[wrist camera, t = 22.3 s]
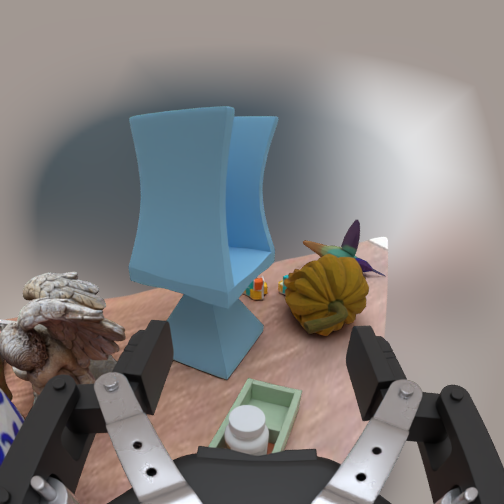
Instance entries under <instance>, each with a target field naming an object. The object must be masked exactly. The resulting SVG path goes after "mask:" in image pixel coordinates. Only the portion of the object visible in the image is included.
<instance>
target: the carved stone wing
mask: <svg viewBox="0 0 504 504" xmlns="http://www.w3.org/2000/svg"><path fill="white" fill-rule="evenodd" d="M11 322H12V321H9V320H1V319H0V331H2V330H3V329H4V328H5V327H6V326H7V325H8V324H9V323H11ZM38 325H40V324H38Z"/></svg>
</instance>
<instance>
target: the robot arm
mask: <svg viewBox="0 0 504 504" xmlns="http://www.w3.org/2000/svg"><path fill="white" fill-rule="evenodd" d="M173 356H174V349H173V343H172V337H171V330H170V324H169V322H168V321H159V320H151V321H150V323H149V325H148V327H147V328H146V330H139V331H138V332H137V333H135V334H134V335H133V336H132V337H131V339H130V340H129V342H128V345H127V346H126V347H125V349H124V351H123V353H122V354H121V356H120V358H119V360H118V361H117V363H116V365H115V367H114V369H113V370H112V372H110V373H106V374H103V375H101V376H100V377H99V378H98V379H97V380H96V381H95V383H94V384H76V382H75V380H74V379H73V378H72V377H71V376H69V375H64V374H63V375H57V376H54V377H52V378H51V379H50V380H49V381H48V382H47V383H46V385H45V387H44V388H43V390H42V391H41V393H40V395H39V396H38V398H37V400H36V401H35V403H34V405H33V407H32V408H31V410H30V412H29V414H28V415H27V417H26V419H25V421H24V422H23V424H22V426H21V428H20V430H19V431H18V433H17V435H16V437H15V439H14V441H13V443H12V445H11V446H10V448H9V450H8V452H7V454H6V456H5V458H4V460H3V462H2V464H1V466H0V504H80V502H79V500H78V499H77V497H76V496H75V495H74V493H75V490H76V487H77V484H78V481H79V478H80V475H81V473H82V470H83V467H84V464H85V461H86V458H87V456H88V453H89V450H90V448H91V445H92V442H93V440H94V437H95V434H96V433H108V434H109V436H110V439H111V441H112V444H113V446H114V448H115V451H116V453H117V456H118V458H119V460H120V462H121V465H122V467H123V469H124V471H125V473H126V476H127V478H128V480H129V482H130V484H131V486H132V488H131V489H130V490H128V491H126V492H125V493H123V494H122V495H120V496H119V497H117V498H115V499H114V500H112V501H111V502H109V503H107V504H391V503H390V502H389V501H387V500H386V499H384V498H383V497H382V496H381V495H379V493H380V491H381V489H382V487H383V486H384V484H385V482H386V480H387V478H388V476H389V474H390V473H391V471H392V469H393V467H394V465H395V463H396V461H397V459H398V457H399V455H400V452H401V450H402V448H403V446H404V444H405V442H406V441H416V442H417V444H418V447H419V450H420V453H421V457H422V460H423V464H424V467H425V471H426V475H427V479H428V482H429V487H430V491H431V494H432V499H433V503H434V504H504V468H503V465H502V463H501V461H500V458H499V456H498V453H497V451H496V449H495V446H494V444H493V442H492V440H491V438H490V435H489V433H488V431H487V429H486V427H485V425H484V423H483V420H482V418H481V417H480V415H479V413H478V410H477V408H476V406H475V405H474V403H473V401H472V399H471V397H470V395H469V393H468V392H467V391H466V390H465V389H464V388H462V387H460V386H458V385H448V386H446V387H444V388H443V389H442V391H441V393H440V394H435V393H426V392H422V390H421V388H420V387H419V386H418V385H417V384H416V383H415V382H413V381H410V380H407V378H406V376H405V374H404V372H403V370H402V368H401V366H400V364H399V362H398V360H397V359H396V356H395V354H394V352H393V350H392V348H391V346H390V344H389V343H388V342H387V341H386V340H385V339H384V338H383V337H381V336H376V335H375V333H374V331H373V329H372V327H371V326H354V327H353V329H352V332H351V337H350V341H349V345H348V350H347V354H346V365H347V369H348V372H349V375H350V379H351V382H352V386H353V389H354V392H355V396H356V399H357V403H358V406H359V410H360V413H361V417H362V420H363V421H369V420H370V421H369V423H368V424H367V426H366V428H365V429H364V431H363V433H362V434H361V436H360V437H359V439H358V440H357V442H356V444H355V445H354V447H353V448H352V450H351V451H350V453H349V454H348V456H347V457H346V459H345V460H344V462H343V463H342V465H340V464H339V463H337V462H335V461H332V460H330V459H327V458H323V457H317V453H316V449H303V450H285V451H281V452H276V453H271V454H266V455H261V456H254V455H250V454H246V453H242V452H238V451H234V450H231V449H227V448H214V447H204V446H199V447H198V452H197V454H190V455H186V456H182V457H179V458H177V459H174V460H172V459H171V457H170V456H169V454H168V452H167V451H166V449H165V447H164V446H163V444H162V442H161V440H160V439H159V437H158V435H157V433H156V432H155V430H154V428H153V426H152V424H151V423H150V421H149V419H148V417H147V415H146V414H148V415H154V413H155V410H156V407H157V404H158V401H159V398H160V395H161V392H162V390H163V387H164V384H165V381H166V378H167V376H168V373H169V370H170V367H171V364H172V362H173Z"/></svg>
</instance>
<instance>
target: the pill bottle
mask: <svg viewBox="0 0 504 504" xmlns="http://www.w3.org/2000/svg"><path fill="white" fill-rule="evenodd" d="M265 421H266V418H265V414H264V413H263V411H262V410H261V409H259V408H258V407H255V406H252V405H242V406H238V407H236V408H235V409H233V410H232V411H231V413H230V415H229V424H228V425H227V426H226V428H225V433H224V434H225V446H226V448H227V449H231V450H234V451H238V452H242V453H246V454H250V455H254V456H261V455H266V454H267V447H268V438H269V431H268V428H267V426H266V425H265Z"/></svg>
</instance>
